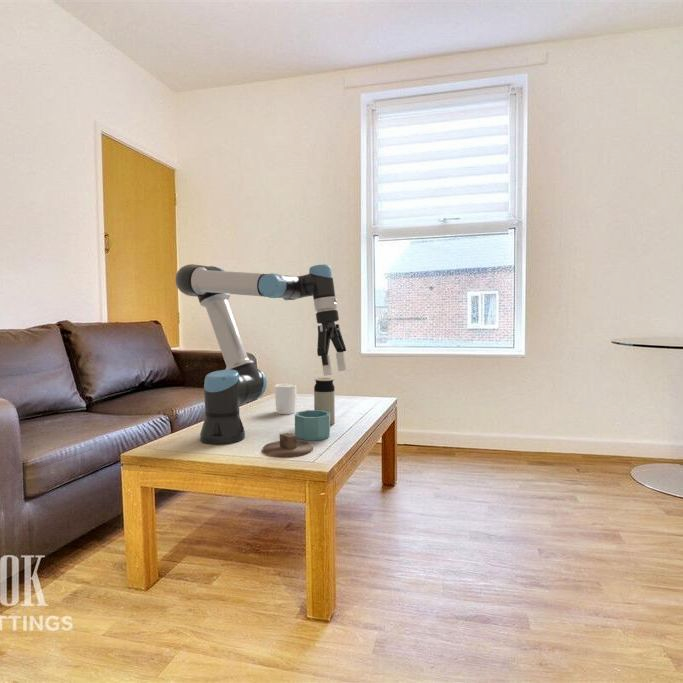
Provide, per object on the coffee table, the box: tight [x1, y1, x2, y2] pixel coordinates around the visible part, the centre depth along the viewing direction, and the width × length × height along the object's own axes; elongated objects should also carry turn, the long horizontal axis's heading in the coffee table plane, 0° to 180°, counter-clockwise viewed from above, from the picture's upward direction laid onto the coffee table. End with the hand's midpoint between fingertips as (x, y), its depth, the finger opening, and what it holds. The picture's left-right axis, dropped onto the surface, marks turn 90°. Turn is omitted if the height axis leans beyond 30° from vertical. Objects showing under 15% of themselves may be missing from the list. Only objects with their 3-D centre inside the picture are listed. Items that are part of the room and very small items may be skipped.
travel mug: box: [313, 376, 336, 426], centre depth 185 cm, size 8×8×18 cm
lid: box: [262, 432, 314, 458], centre depth 151 cm, size 16×16×5 cm
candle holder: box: [274, 382, 298, 415], centre depth 206 cm, size 10×10×12 cm
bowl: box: [294, 409, 331, 442], centre depth 167 cm, size 12×12×8 cm
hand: (335, 373), depth 159 cm, fingers open, 13 cm apart
